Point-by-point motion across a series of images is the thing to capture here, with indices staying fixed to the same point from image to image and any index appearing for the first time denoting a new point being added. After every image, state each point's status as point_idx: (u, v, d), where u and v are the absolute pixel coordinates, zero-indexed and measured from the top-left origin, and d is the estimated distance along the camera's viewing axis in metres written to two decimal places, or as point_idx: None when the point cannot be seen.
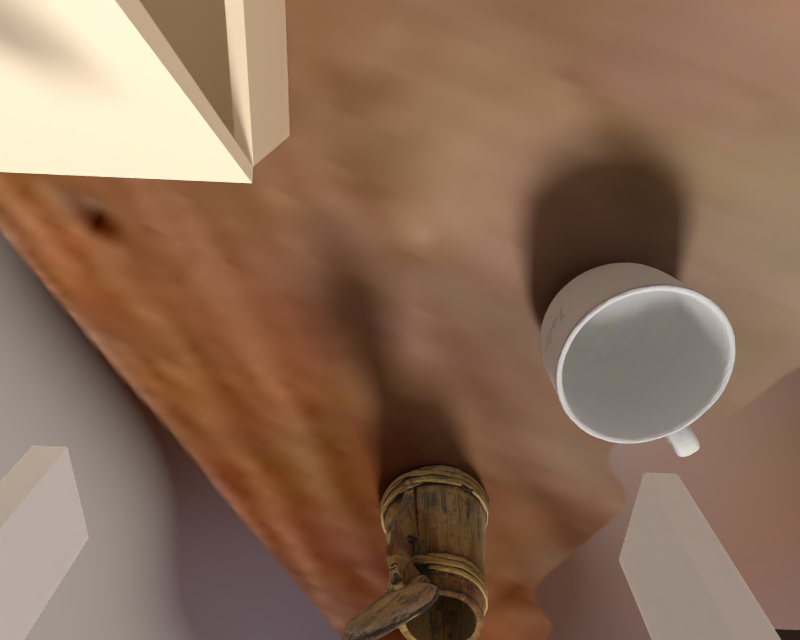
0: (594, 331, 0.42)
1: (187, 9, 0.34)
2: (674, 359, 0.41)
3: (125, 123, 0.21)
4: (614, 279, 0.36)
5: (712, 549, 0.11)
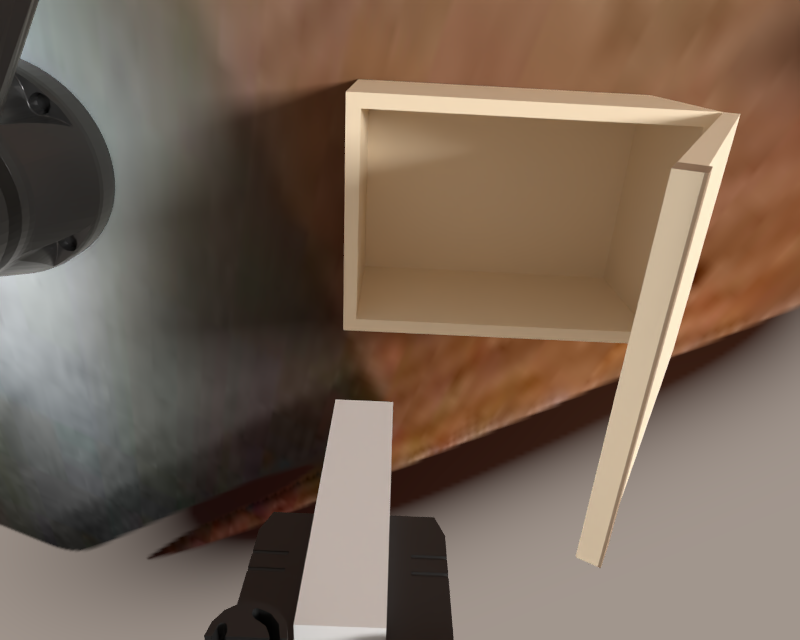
0: None
1: (541, 172, 0.42)
2: None
3: (713, 195, 0.27)
4: None
5: (380, 455, 0.13)
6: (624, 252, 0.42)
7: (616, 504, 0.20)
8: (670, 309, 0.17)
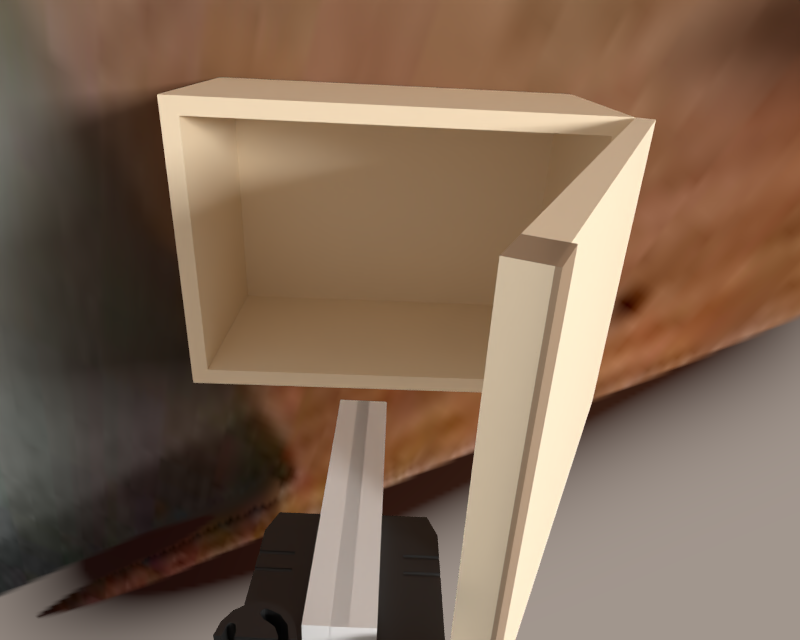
0: None
1: (446, 186, 0.36)
2: None
3: (621, 230, 0.21)
4: None
5: (373, 455, 0.13)
6: None
7: None
8: (522, 482, 0.10)
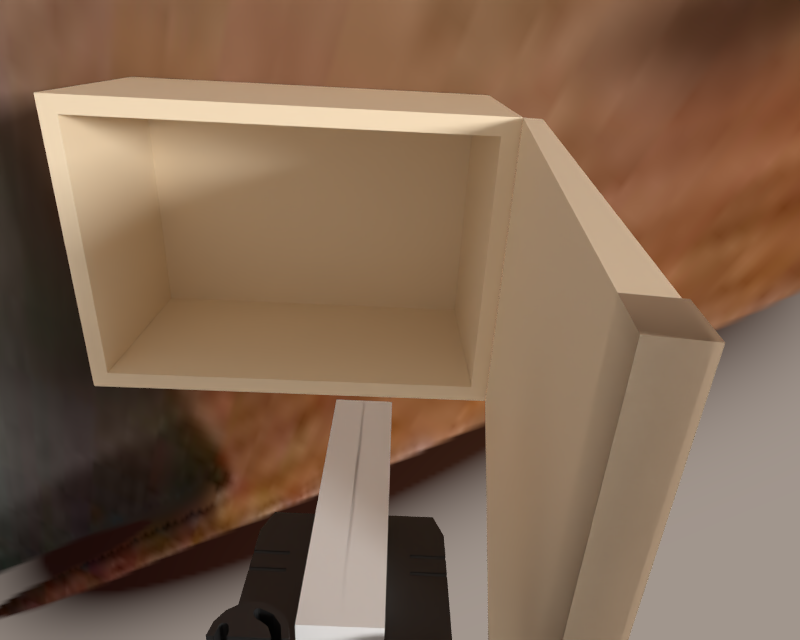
0: None
1: (366, 188, 0.35)
2: None
3: None
4: None
5: (379, 455, 0.13)
6: (463, 283, 0.35)
7: None
8: (642, 589, 0.08)
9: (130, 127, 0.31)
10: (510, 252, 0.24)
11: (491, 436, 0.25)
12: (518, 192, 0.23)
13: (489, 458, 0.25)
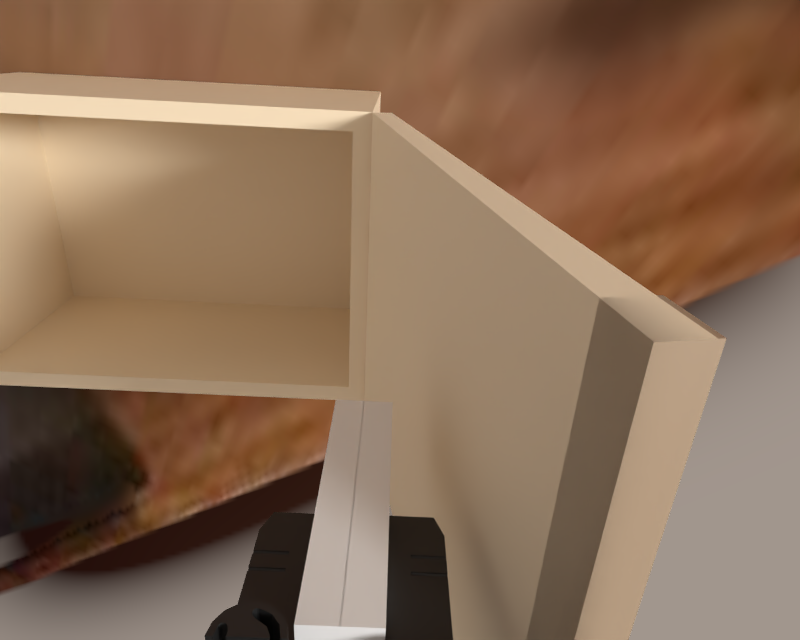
0: None
1: (261, 185, 0.35)
2: None
3: None
4: None
5: (380, 455, 0.13)
6: None
7: None
8: (644, 583, 0.08)
9: (10, 122, 0.31)
10: (378, 250, 0.24)
11: None
12: (380, 189, 0.23)
13: None
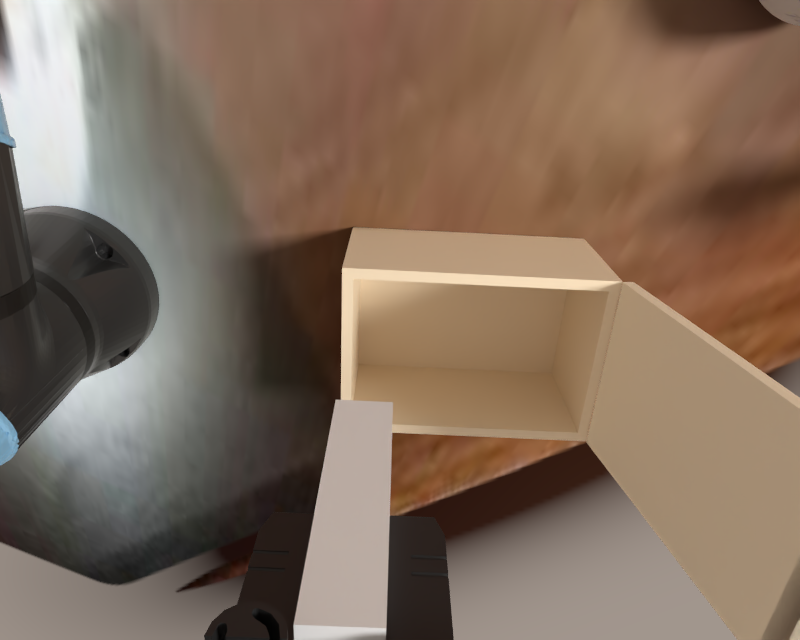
0: None
1: (499, 295, 0.53)
2: None
3: None
4: None
5: (380, 455, 0.13)
6: (564, 360, 0.52)
7: None
8: None
9: None
10: (627, 361, 0.42)
11: (628, 467, 0.42)
12: (634, 329, 0.41)
13: (628, 480, 0.42)
